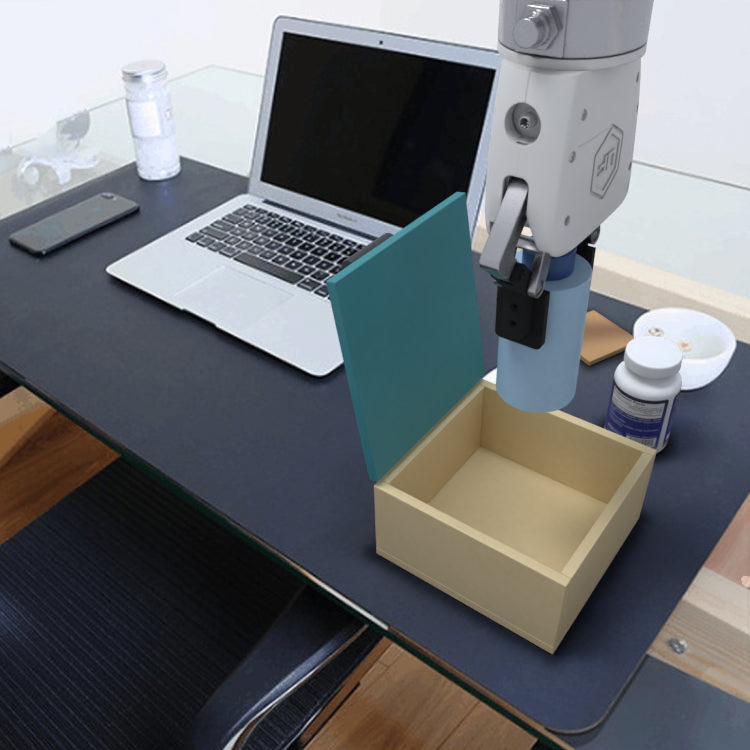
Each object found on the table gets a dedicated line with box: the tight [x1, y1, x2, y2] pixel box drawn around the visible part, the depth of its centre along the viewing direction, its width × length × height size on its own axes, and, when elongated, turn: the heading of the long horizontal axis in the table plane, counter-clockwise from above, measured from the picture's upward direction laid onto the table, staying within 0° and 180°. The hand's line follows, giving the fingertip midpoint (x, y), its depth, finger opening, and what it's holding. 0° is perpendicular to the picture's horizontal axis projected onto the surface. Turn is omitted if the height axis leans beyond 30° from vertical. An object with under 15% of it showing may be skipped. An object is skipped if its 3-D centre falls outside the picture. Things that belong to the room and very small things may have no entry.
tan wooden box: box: [373, 378, 657, 655], centre depth 62 cm, size 16×16×8 cm
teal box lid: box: [325, 191, 486, 483], centre depth 60 cm, size 16×16×4 cm
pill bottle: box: [603, 335, 684, 454], centre depth 71 cm, size 6×6×10 cm
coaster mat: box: [580, 309, 634, 367], centre depth 86 cm, size 7×7×1 cm
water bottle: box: [495, 234, 593, 413], centre depth 52 cm, size 5×5×11 cm
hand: (542, 315), depth 51 cm, fingers closed on water bottle, 5 cm apart
